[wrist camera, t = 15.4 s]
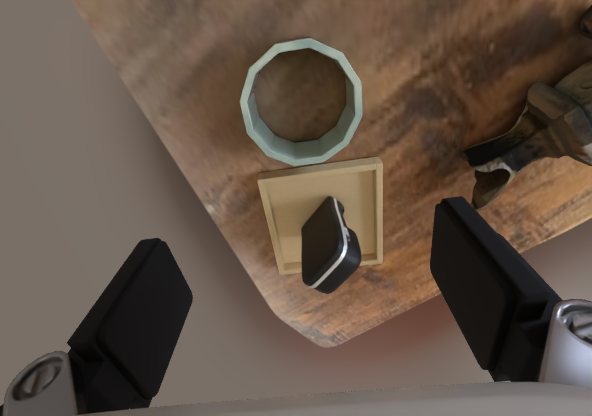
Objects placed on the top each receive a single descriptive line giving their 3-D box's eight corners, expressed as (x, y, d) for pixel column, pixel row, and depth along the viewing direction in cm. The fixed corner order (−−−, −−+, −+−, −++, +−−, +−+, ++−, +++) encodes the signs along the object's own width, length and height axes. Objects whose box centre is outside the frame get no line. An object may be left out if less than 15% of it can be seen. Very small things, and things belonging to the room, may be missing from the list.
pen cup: (349, 29, 30) (359, 29, 25) (354, 139, 36) (363, 156, 31) (237, 48, 31) (227, 52, 26) (260, 153, 36) (255, 171, 32)
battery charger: (321, 241, 43) (328, 304, 33) (299, 229, 41) (300, 291, 32) (352, 206, 40) (371, 264, 30) (329, 192, 38) (341, 247, 29)
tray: (378, 156, 37) (382, 162, 35) (379, 253, 45) (382, 263, 43) (258, 172, 38) (256, 180, 36) (280, 265, 46) (279, 275, 44)
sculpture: (614, -25, 27) (793, -53, 18) (676, 47, 31) (857, 57, 21) (436, 171, 37) (487, 222, 28) (497, 209, 41) (563, 268, 31)
